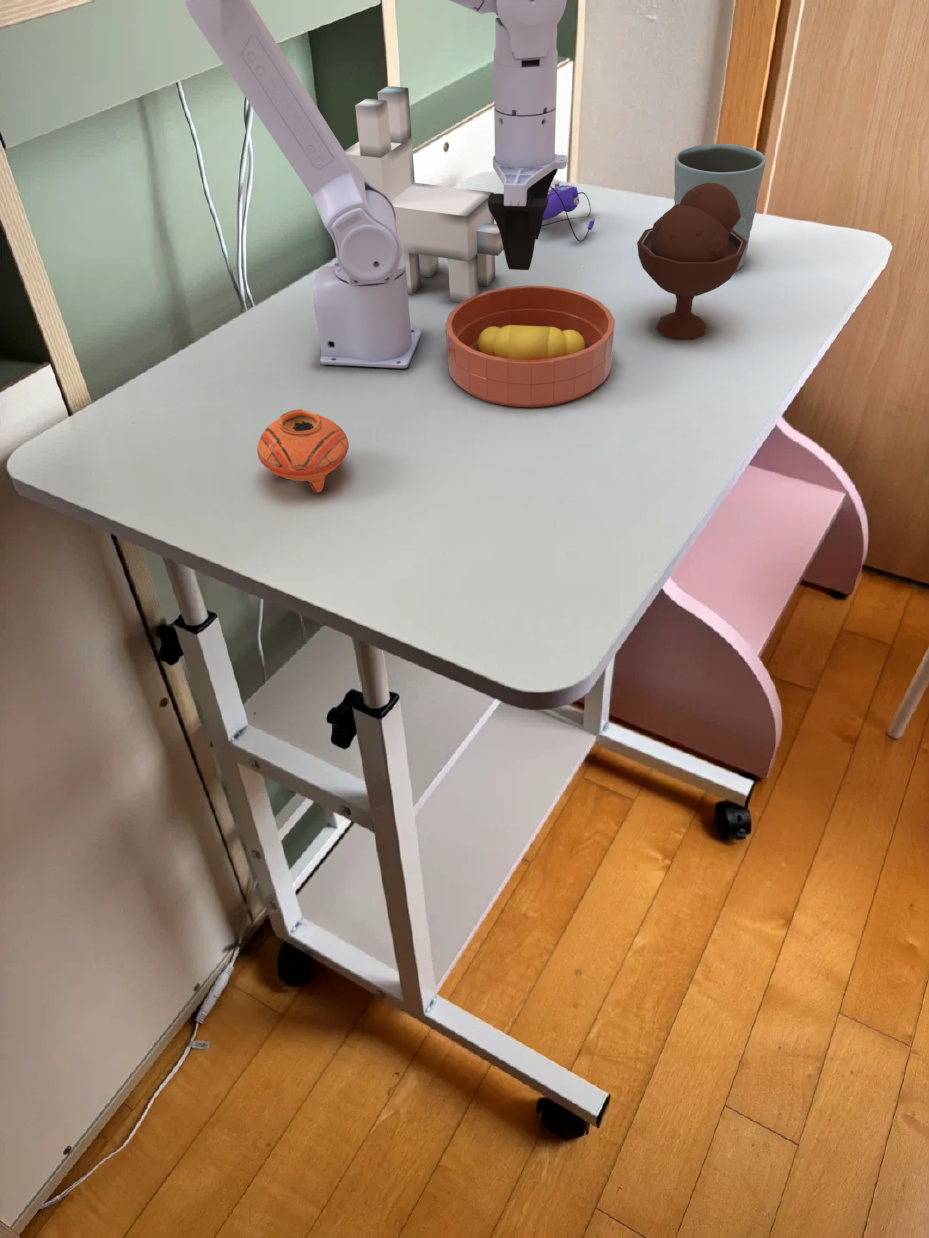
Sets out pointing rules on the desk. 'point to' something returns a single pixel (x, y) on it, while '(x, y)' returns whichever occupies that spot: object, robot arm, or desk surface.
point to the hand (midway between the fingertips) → (523, 253)
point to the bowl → (529, 377)
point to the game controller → (563, 203)
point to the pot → (303, 447)
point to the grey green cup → (723, 177)
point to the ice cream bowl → (692, 253)
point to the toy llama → (424, 202)
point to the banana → (529, 342)
